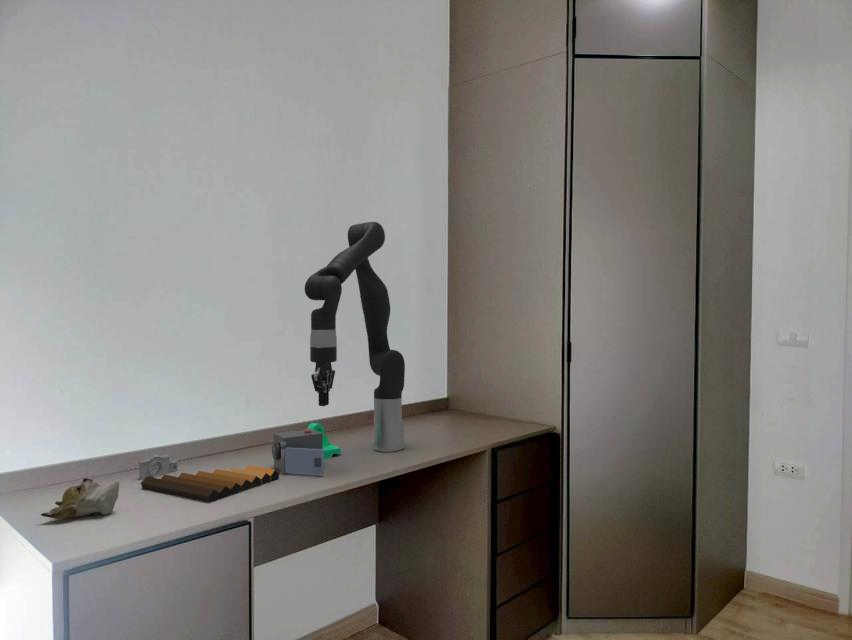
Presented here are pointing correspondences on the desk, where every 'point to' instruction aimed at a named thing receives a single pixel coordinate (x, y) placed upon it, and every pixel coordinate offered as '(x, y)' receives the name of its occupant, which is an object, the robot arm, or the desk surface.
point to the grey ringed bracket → (161, 462)
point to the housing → (295, 442)
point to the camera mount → (325, 441)
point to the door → (302, 461)
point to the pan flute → (211, 483)
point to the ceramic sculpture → (85, 500)
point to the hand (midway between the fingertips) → (323, 405)
